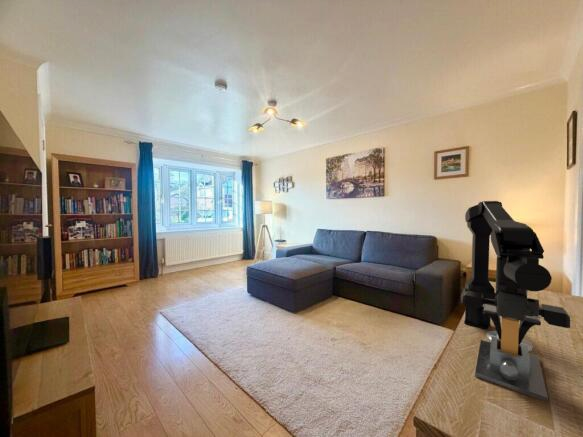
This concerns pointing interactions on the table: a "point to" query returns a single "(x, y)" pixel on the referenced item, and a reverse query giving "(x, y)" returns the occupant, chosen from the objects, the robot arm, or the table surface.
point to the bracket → (511, 367)
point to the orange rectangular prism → (510, 335)
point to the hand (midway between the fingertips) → (509, 341)
